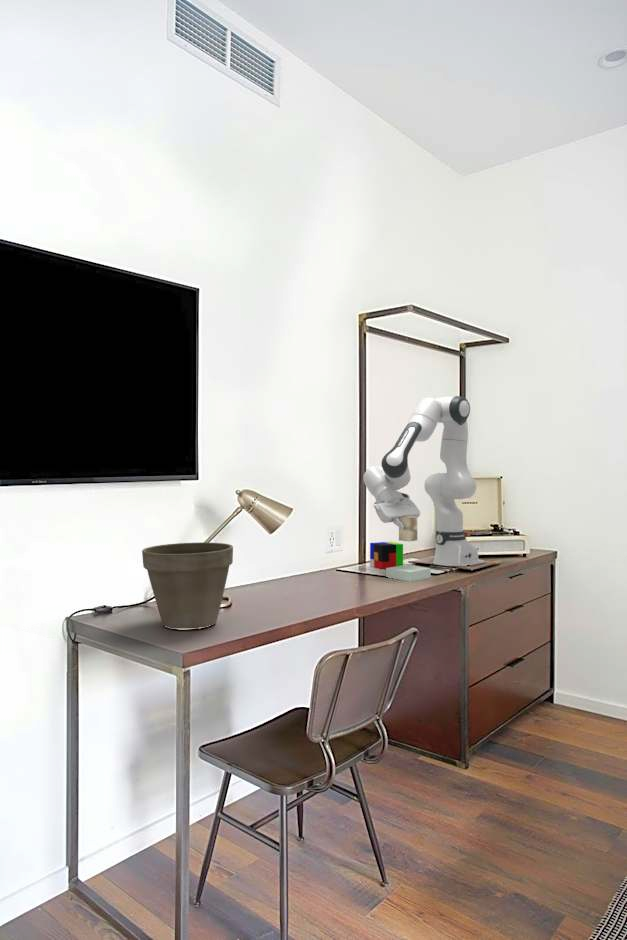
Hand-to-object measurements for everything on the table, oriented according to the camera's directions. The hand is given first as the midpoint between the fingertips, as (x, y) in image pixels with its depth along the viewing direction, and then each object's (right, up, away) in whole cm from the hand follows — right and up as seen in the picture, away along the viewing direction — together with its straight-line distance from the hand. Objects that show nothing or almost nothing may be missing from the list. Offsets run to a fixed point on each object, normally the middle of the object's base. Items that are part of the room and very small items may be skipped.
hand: (409, 527), depth 261 cm
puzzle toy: (-6, -19, +25) cm, 32 cm away
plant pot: (-71, -21, -71) cm, 103 cm away
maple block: (0, -5, +1) cm, 5 cm away
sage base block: (0, -20, +1) cm, 20 cm away
